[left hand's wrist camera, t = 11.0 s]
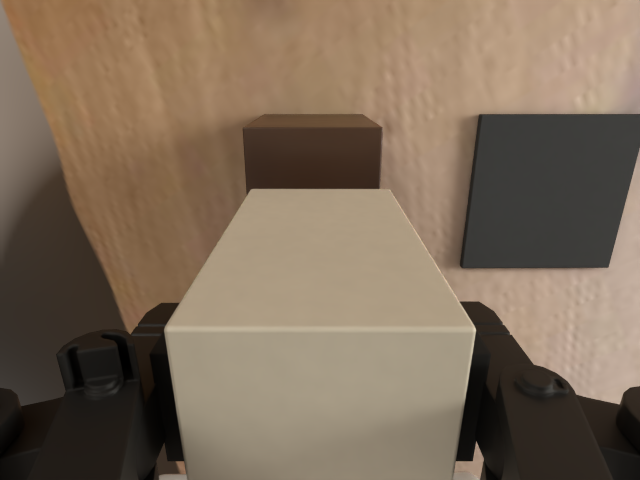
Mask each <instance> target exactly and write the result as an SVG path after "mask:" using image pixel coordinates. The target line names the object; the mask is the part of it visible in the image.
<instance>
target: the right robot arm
mask: <svg viewBox="0 0 640 480" xmlns="http://www.w3.org/2000/svg"><path fill="white" fill-rule="evenodd" d="M159 480H187V476H186V474H163V475H159ZM453 480H480V479H479V478H478V477H476V476H475V475H473V474H472V473H470V472H454V475H453Z"/></svg>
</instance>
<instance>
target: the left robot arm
mask: <svg viewBox="0 0 640 480" xmlns="http://www.w3.org/2000/svg"><path fill="white" fill-rule="evenodd" d="M179 304H180V303H161V304H159V305H158V306H156V307H155V308H153V309H152V310H150V311H149V312H147V313H146V314H145V316H144V317H143V318H142V320H141V321H140V322H139V324H138V327H136V328H135V329H134V330H133V332H132V333H131V335H130V334H129V333H128V332H126V331H121V330H117V329H115V330H100V331H96V332H91V333H88V334H85V335H83V336H80V337H78V338H75V339H74V340H72V341H71V342H69V343H67V344H66V345H64V346H63V347H62V348H61V349H60V351H59V352H58V353H57V354H56V356H57V360H58V363H59V367H60V371H61V375H62V378H63V382H64V386H65V390H66V392H65V394H64V397H61V398H57V399H53V400H49V401H45V402H39V403H35V404H30V405H25V406H21V405H20V402H19V399H18V396H17V394H16V393H14V392H13V391H12V390H10V389H3V388H0V480H159V474H158V467H157V462H156V460H157V458H158V456H159V453H160V451H161V448H162V446H163V444H164V443H165V448H166V454H167V460H168V461H184V456H183V450H182V443H181V437H180V430H179V424H178V417H177V411H176V404H175V398H174V391H173V385H172V378H171V372H170V365H169V359H168V352H167V346H166V339H165V333H164V329H165V326H166V324H167V323H168V321H169V320H170V318H171V316H172V315H173V313H174V312H175V310H176V308H177V307H178V305H179ZM460 304H461V305H462V307H463V308H464V310H465V312H466V313H467V315H468V316H469V318H470V320H471V321H472V323H473V324H474V326H475V329H476V334H475V341H474V347H473V353H472V360H471V366H470V373H469V379H468V386H467V392H466V398H465V405H464V411H463V418H462V424H461V430H460V437H459V443H458V450H457V456H456V461H473V456H474V450H475V444H476V441H477V443H478V446H479V448H480V450H481V453H482V455H483V457H484V462H483V467H482V473H481V478H480V480H640V386H639V387H632V388H629V389H628V390H627V391H626V392H624V394H623V397H622V400H621V403H620V405H619V404H614V403H610V402H605V401H600V400H595V399H591V398H586V397H583V396H579V395H576V394H575V391H574V390H573V388H572V387H571V386H570V384H569V383H568V382H567V381H566V380H565V379H563V378H562V377H561V376H559V375H558V374H557V373H555V372H553V371H550V370H548V369H546V368H544V367H541V366H537V365H534V364H533V363H532V362H531V360H530V359H529V358H528V356H527V355H526V354H525V352H524V351H523V350H522V348H521V347H520V346H519V344H518V343H517V342H516V340H515V339H514V338H513V336H512V335H510V332H509V331H508V330H507V328H506V327H505V325H503V323H502V321H501V320H500V319H499V317H498V316H497V315H496V313H495V312H494V311H493V310H491V309H490V308H488V307H487V306H485V305H483V304H482V303H480V302H460Z"/></svg>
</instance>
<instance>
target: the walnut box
mask: <svg viewBox="0 0 640 480" xmlns="http://www.w3.org/2000/svg"><path fill="white" fill-rule="evenodd" d="M382 136H383V128H382V127H381V126H379V125H378V124H376V123H375V122H373V121H372V120H370V119H369V118H367V117H366V116H364V115H363V114H265V115H263V116H261V117H260V118H258V119H256V120H255V121H253V122H252V123H250V124H248V125H247V126H245V127H243V141H244V157H245V173H246V190H247V195H248V193H249V192H250V190H251V189H380V175H381V156H382Z"/></svg>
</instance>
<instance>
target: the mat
mask: <svg viewBox="0 0 640 480" xmlns="http://www.w3.org/2000/svg"><path fill="white" fill-rule="evenodd" d="M639 148H640V114H480V115H479V119H478V127H477V135H476V143H475V151H474V159H473V167H472V175H471V183H470V190H469V198H468V206H467V214H466V222H465V230H464V238H463V246H462V254H461V262H460V266H461V267H462V268H608V267H609V263H610V259H611V255H612V251H613V248H614V244H615V240H616V236H617V232H618V228H619V225H620V221H621V217H622V213H623V209H624V205H625V202H626V198H627V194H628V190H629V186H630V182H631V179H632V175H633V171H634V167H635V163H636V160H637V156H638V152H639Z"/></svg>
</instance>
